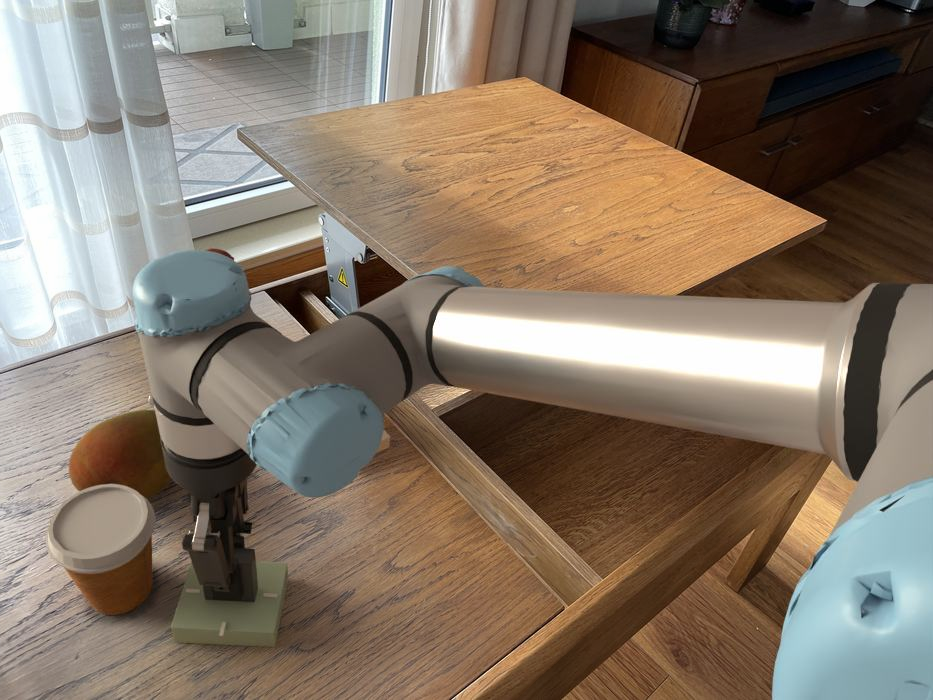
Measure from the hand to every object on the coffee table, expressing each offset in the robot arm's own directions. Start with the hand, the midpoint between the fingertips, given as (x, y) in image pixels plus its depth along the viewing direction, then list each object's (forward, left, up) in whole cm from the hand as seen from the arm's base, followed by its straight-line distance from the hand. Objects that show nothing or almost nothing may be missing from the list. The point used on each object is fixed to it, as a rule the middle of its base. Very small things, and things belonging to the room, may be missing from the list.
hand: (230, 585), depth 73 cm
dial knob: (0, 0, -1) cm, 1 cm away
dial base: (0, 0, -4) cm, 4 cm away
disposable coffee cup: (+7, +10, -5) cm, 13 cm away
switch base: (+19, -19, -4) cm, 28 cm away
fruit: (+21, +6, -5) cm, 22 cm away
